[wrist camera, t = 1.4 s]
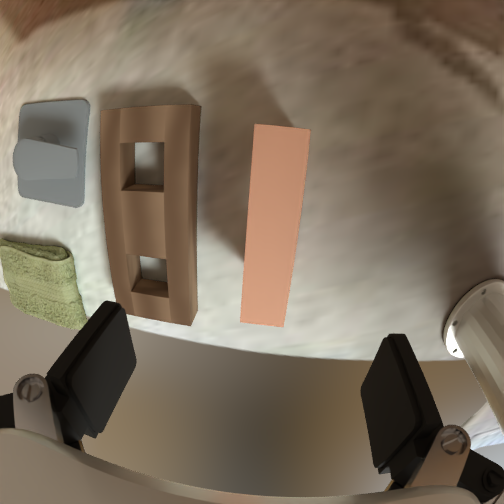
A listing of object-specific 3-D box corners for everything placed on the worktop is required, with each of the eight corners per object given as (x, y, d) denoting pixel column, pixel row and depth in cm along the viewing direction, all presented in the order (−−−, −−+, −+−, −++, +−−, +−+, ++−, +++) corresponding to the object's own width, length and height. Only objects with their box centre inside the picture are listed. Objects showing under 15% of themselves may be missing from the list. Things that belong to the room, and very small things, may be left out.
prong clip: (302, 129, 24) (310, 129, 17) (284, 278, 30) (283, 327, 23) (263, 125, 24) (254, 123, 17) (250, 274, 31) (240, 322, 23)
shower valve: (75, 226, 25) (-5, 206, 25) (104, 210, 30) (22, 194, 30) (81, 97, 20) (-5, 107, 20) (112, 99, 24) (25, 104, 25)
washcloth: (2, 234, 33) (-11, 241, 30) (76, 245, 32) (61, 255, 29) (21, 303, 39) (10, 313, 36) (94, 327, 37) (84, 340, 35)
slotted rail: (201, 106, 24) (191, 104, 21) (197, 310, 33) (190, 326, 30) (117, 110, 25) (100, 110, 22) (128, 298, 34) (118, 312, 31)
